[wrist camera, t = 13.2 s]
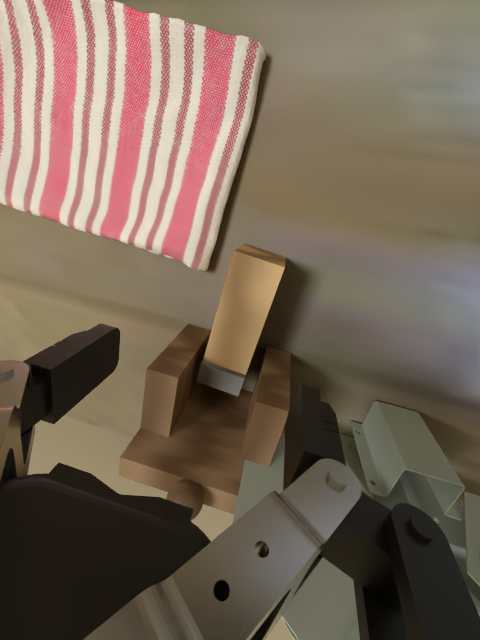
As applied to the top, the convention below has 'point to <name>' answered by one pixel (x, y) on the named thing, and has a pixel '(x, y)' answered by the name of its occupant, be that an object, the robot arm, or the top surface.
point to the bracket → (388, 489)
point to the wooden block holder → (205, 426)
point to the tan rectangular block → (240, 317)
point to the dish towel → (123, 121)
